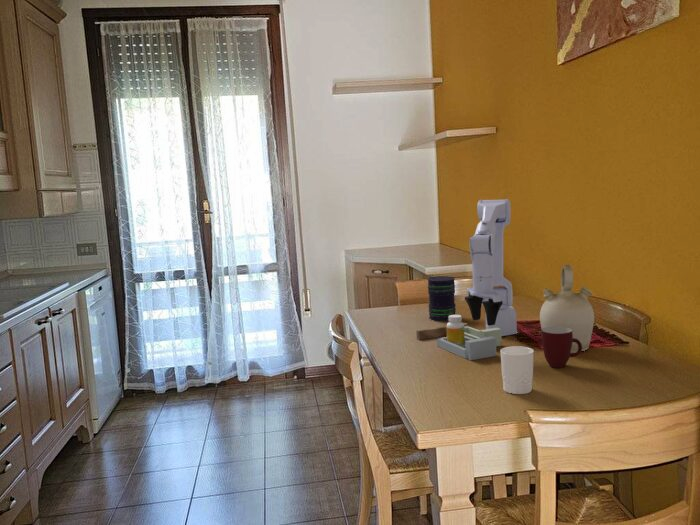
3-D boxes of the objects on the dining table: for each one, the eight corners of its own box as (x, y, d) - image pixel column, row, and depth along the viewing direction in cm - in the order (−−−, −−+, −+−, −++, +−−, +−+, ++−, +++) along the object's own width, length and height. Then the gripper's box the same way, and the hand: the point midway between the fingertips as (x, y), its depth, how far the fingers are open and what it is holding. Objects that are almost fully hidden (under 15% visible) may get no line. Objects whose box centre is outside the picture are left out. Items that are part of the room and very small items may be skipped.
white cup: (496, 386, 165) (496, 347, 164) (527, 383, 166) (527, 345, 164) (507, 396, 157) (506, 355, 156) (539, 394, 158) (538, 353, 157)
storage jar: (460, 316, 244) (459, 276, 242) (449, 322, 236) (448, 281, 234) (435, 314, 249) (434, 275, 247) (424, 320, 241) (422, 279, 239)
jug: (596, 343, 200) (596, 261, 196) (591, 356, 186) (591, 269, 182) (544, 339, 206) (543, 260, 203) (536, 353, 192) (535, 268, 189)
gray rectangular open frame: (461, 341, 208) (461, 325, 208) (496, 355, 191) (496, 338, 191) (437, 346, 205) (436, 329, 204) (470, 360, 188) (469, 342, 187)
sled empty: (468, 333, 219) (467, 317, 218) (501, 345, 202) (501, 329, 201) (451, 335, 216) (451, 320, 216) (484, 348, 199) (484, 331, 199)
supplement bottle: (464, 349, 200) (463, 317, 199) (446, 349, 201) (445, 317, 200) (465, 344, 205) (464, 314, 204) (447, 344, 206) (446, 314, 205)
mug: (575, 360, 183) (575, 325, 182) (586, 368, 175) (586, 332, 174) (537, 362, 183) (537, 327, 182) (547, 371, 175) (546, 334, 174)
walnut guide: (465, 331, 222) (465, 322, 222) (503, 345, 202) (503, 336, 202) (416, 338, 215) (416, 330, 215) (451, 354, 195) (451, 345, 195)
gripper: (457, 274, 195) (458, 319, 197) (485, 281, 182) (486, 329, 184) (477, 271, 198) (478, 316, 200) (506, 278, 184) (507, 325, 186)
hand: (483, 322), depth 192 cm, fingers open, 7 cm apart
